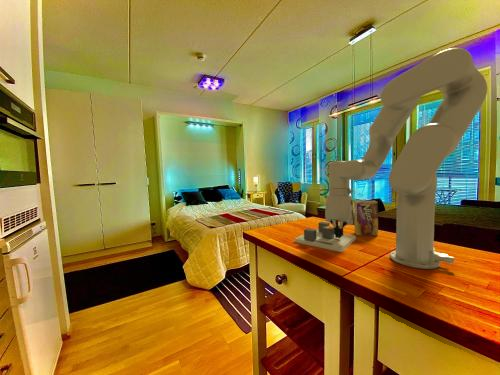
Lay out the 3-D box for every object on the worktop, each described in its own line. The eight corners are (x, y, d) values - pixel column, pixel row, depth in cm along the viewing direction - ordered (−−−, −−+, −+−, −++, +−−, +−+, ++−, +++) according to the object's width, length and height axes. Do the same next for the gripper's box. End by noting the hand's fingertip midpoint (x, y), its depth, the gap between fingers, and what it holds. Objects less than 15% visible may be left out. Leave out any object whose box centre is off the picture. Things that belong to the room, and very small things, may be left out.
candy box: (374, 233, 99) (374, 200, 98) (378, 235, 95) (378, 201, 94) (353, 232, 101) (353, 200, 100) (356, 235, 97) (356, 201, 96)
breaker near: (316, 239, 88) (316, 229, 87) (313, 241, 86) (313, 231, 85) (307, 237, 90) (307, 228, 90) (304, 239, 88) (303, 229, 88)
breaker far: (329, 231, 98) (329, 222, 98) (327, 232, 96) (327, 224, 96) (321, 229, 101) (321, 221, 101) (318, 231, 99) (318, 222, 98)
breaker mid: (334, 237, 90) (334, 227, 90) (331, 238, 88) (331, 228, 87) (325, 235, 93) (324, 225, 92) (322, 237, 90) (322, 227, 90)
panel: (355, 239, 91) (355, 235, 91) (341, 252, 78) (341, 247, 78) (313, 232, 104) (313, 228, 104) (294, 242, 91) (294, 238, 90)
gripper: (362, 192, 84) (361, 238, 85) (324, 190, 93) (324, 231, 95) (356, 194, 78) (355, 243, 80) (317, 192, 88) (317, 235, 89)
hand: (338, 236), depth 87 cm, fingers closed
